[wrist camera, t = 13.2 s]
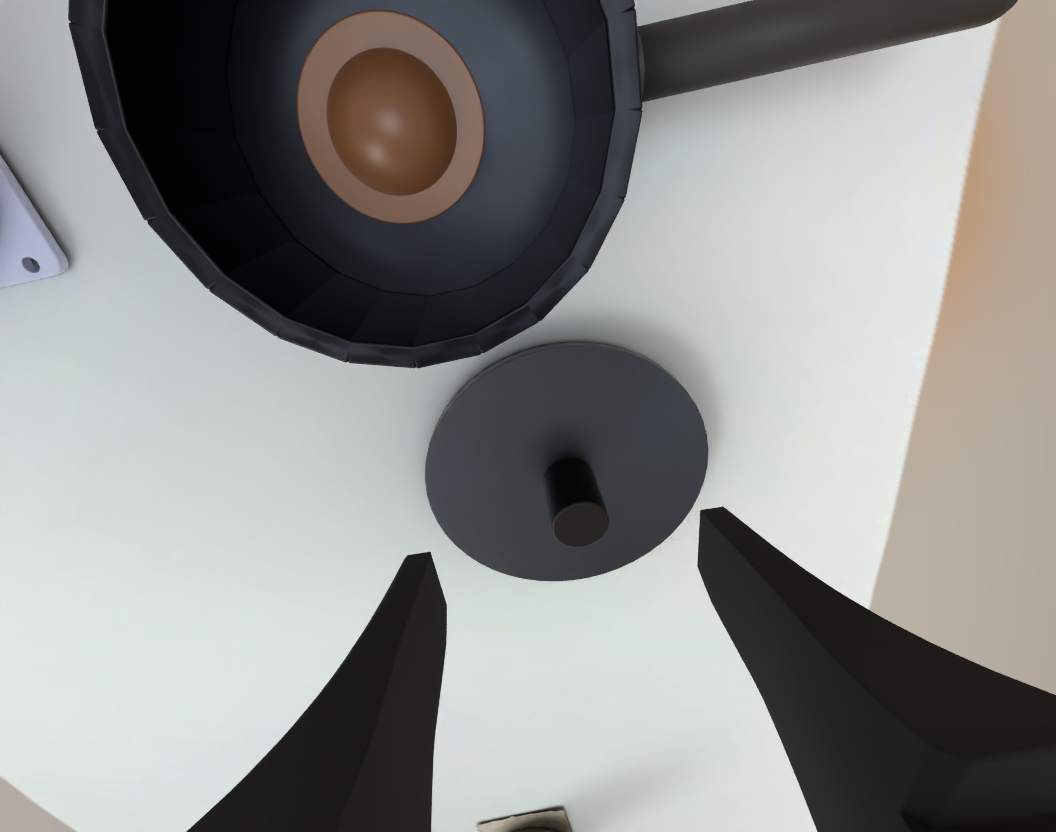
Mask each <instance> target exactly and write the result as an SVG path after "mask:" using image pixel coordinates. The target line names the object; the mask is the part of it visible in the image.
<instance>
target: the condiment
mask: <svg viewBox="0 0 1056 832" xmlns="http://www.w3.org/2000/svg"><path fill="white" fill-rule="evenodd" d="M476 827H477V828H478V831H479V832H572V830H571V829H570V825H569V823H568V820H567V818H566V815H565V813H564V810H559V811H548V812H540V813H536V814H527V815H522V816H518V817H514V816H513V815H512V816H511V817H510V818H507V819H504V820H500V821H491V822H489V823H486V824H481V825H476Z"/></svg>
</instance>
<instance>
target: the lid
mask: <svg viewBox="0 0 1056 832" xmlns="http://www.w3.org/2000/svg"><path fill="white" fill-rule="evenodd" d="M707 461H708V444H707V434H706V431H705V427H704V423H703V420H702V417H701V415H700V413H699V411H698V409H697V406H696V405H695V403H694V402H693V400H692V399H691V397H690V396H689V394H688V393H687V391H686V390H685V389H684V388H683V387H682V386H681V385H680V383H679V382H678V381H677V380H676V379H675V378H674V377H673V376H672V375H671V374H669V373H668V372H667V371H666V370H664V369H663V368H662V367H660V366H659V365H658V364H656V363H654V362H652V361H651V360H649V359H647V358H645V357H644V356H642V355H639V354H637V353H634V352H631V351H629V350H626V349H623V348H619V347H615V346H611V345H606V344H598V343H589V342H568V343H558V344H551V345H545V346H540V347H537V348H533V349H529V350H526V351H522V352H520V353H518V354H515V355H513V356H510V357H508V358H506V359H503V360H501V361H500V362H498V363H496V364H494V365H493V366H491V367H489V368H488V369H486V370H484V371H483V372H482V373H480V374H479V375H478V376H476V377H475V378H474V379H472V380H471V381H470V382H469V383H468V384H467V385H466V386H465V387H464V388H463V389H462V390H461V391H460V392H459V393H458V394H457V395H456V396H455V397H454V398H453V400H452V401H451V402H450V404H449V405H448V406H447V407H446V409H445V410H444V412H443V414H442V415H441V417H440V419H439V421H438V423H437V424H436V427H435V429H434V432H433V435H432V437H431V440H430V443H429V448H428V453H427V458H426V467H425V482H426V490H427V496H428V499H429V503H430V506H431V509H432V511H433V513H434V515H435V518H436V520H437V522H438V523H439V525H440V526H441V528H442V529H443V531H444V532H445V534H446V535H447V536H448V537H449V538H450V539H451V541H452V542H453V543H454V544H455V545H456V546H457V547H458V548H460V549H461V550H462V551H463V552H464V553H466V554H467V555H468V556H470V557H471V558H473V559H474V560H476V561H477V562H479V563H481V564H483V565H485V566H487V567H489V568H491V569H493V570H496V571H498V572H501V573H504V574H507V575H510V576H515V577H519V578H523V579H530V580H538V581H568V580H576V579H583V578H589V577H593V576H597V575H601V574H604V573H607V572H610V571H613V570H615V569H618V568H621V567H623V566H625V565H627V564H629V563H631V562H633V561H635V560H637V559H639V558H640V557H642V556H644V555H645V554H647V553H648V552H650V551H651V550H653V549H654V548H655V547H657V546H658V545H659V544H661V543H662V542H663V541H664V540H665V539H666V538H667V537H668V536H670V535H671V534H672V533H673V532H674V531H675V529H676V528H677V527H678V526H679V525H680V524H681V523H682V522H683V520H684V519H685V517H686V516H687V514H688V513H689V512H690V510H691V509H692V507H693V505H694V503H695V501H696V499H697V497H698V495H699V493H700V490H701V487H702V485H703V482H704V478H705V474H706V469H707Z"/></svg>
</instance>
